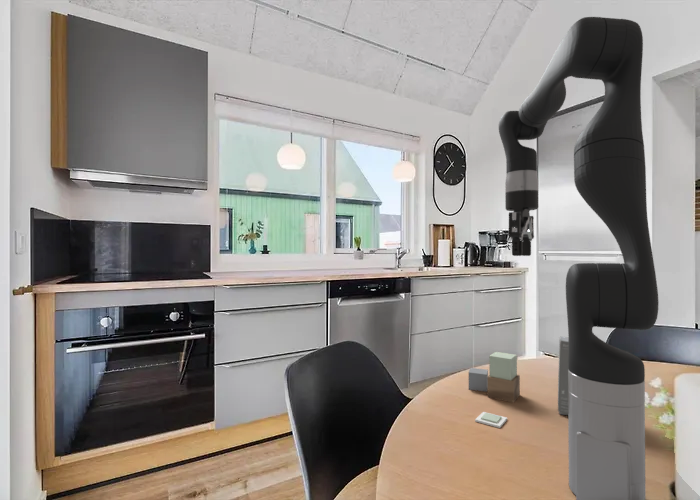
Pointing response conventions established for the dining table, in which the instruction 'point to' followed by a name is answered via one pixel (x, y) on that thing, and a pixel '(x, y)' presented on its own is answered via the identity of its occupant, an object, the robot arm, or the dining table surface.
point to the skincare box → (563, 376)
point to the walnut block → (504, 388)
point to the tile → (491, 419)
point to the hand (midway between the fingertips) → (521, 255)
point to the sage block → (503, 365)
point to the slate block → (478, 379)
